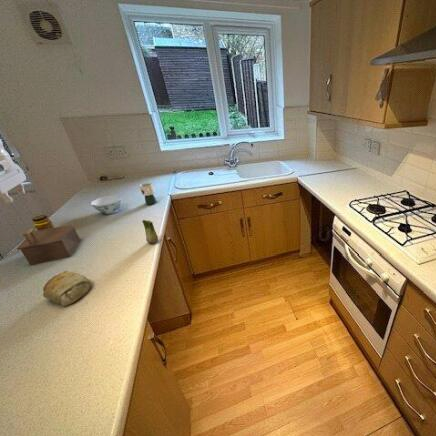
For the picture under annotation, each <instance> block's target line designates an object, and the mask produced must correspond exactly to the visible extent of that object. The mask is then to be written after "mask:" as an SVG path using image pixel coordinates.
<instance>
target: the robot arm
mask: <svg viewBox="0 0 436 436" xmlns="http://www.w3.org/2000/svg"><path fill="white" fill-rule="evenodd" d="M25 181H27V176H26V174H25V173H24V171H23V169H22V168H21V167H20V165H19V164H17V163H15V161H13V159H12V157H11V155H10V153H9V152H8V151H7V150H6V149H5V147H4V143H3V141H2V139H1V138H0V198H1V199H3V200H4V202H5V203H6V204H12V203H14V202H15V200H14V198H13V197H12V196H10V195H9V192H10V191H11V190H13V189H14V188H16V193H17V194H18V195H19V196H23V195H25V194H26V191H25V188H24V184H23V183H24V182H25Z"/></svg>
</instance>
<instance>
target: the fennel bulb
mask: <svg viewBox="0 0 436 436" xmlns="http://www.w3.org/2000/svg"><path fill="white" fill-rule="evenodd" d="M141 222H142V224H143V227H144V230H145V238H146V239H145V240H146V242H147V243H148V244H151V245H152V244H153V245H154V244H157V243H158V241H159V237H158V234H157V232H156V230H155V226H154V222H153V221H150V219H149V220H147V219H142V220H141Z"/></svg>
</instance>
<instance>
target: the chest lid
mask: <svg viewBox="0 0 436 436" xmlns="http://www.w3.org/2000/svg"><path fill="white" fill-rule="evenodd" d="M73 226H74V224H68V225H61V226H54V228H48V229H42V230H37V229H36V230H34V229H33V228H31V227H30V228H28V229H27V230H26V231H25V232H24V233H23V234H22V236H23V237H24V238H25V239H24V240H23V241H22V242H21V243H20V244H19V245H18V246H17V247H16V250H17V251H19V250H20V251H21V249H26V248H31V247H36V246H42V245H47V244H53V243H58V242H63V240H64V239H65V237H66V236H67V234H68V233H69V232H70V230H71V229H72V227H73Z"/></svg>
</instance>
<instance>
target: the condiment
mask: <svg viewBox="0 0 436 436" xmlns="http://www.w3.org/2000/svg"><path fill="white" fill-rule="evenodd" d="M31 219H32V220H31V221H32V222H33V226H34V227H35V229H36V230H42V229H48V228H54V227H55V226H54V224H53V222H52V220H50V219H49V217H48V215H46V214H40V215H36V216H34V217H32V218H31Z"/></svg>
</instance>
